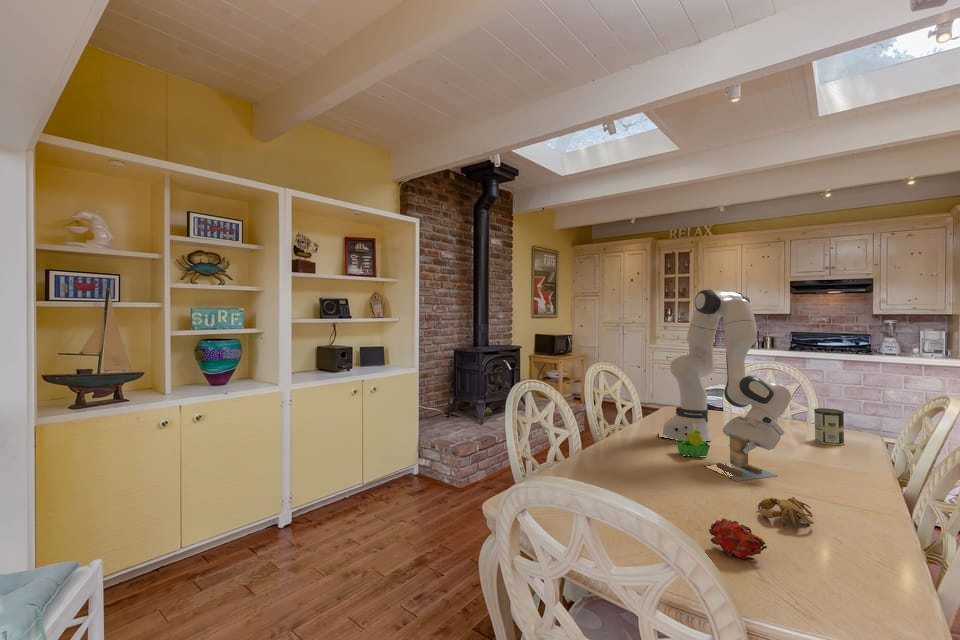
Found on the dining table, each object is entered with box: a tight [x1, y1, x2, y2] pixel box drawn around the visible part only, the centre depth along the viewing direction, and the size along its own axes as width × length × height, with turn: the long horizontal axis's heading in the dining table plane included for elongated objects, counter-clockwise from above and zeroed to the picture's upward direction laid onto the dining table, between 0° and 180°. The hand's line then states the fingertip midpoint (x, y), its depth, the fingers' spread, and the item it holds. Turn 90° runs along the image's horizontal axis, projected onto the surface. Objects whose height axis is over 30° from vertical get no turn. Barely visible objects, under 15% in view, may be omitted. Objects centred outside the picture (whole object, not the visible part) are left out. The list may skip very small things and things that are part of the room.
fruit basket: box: [675, 430, 711, 457], centre depth 175 cm, size 11×9×11 cm
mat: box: [715, 462, 779, 482], centre depth 157 cm, size 18×16×2 cm
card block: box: [729, 436, 749, 467], centre depth 157 cm, size 4×4×10 cm
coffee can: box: [813, 407, 845, 446], centre depth 190 cm, size 10×10×14 cm
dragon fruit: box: [708, 517, 768, 561], centre depth 102 cm, size 8×8×12 cm
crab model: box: [757, 496, 815, 528], centre depth 120 cm, size 16×13×6 cm
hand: (737, 450), depth 157 cm, fingers closed on card block, 4 cm apart
